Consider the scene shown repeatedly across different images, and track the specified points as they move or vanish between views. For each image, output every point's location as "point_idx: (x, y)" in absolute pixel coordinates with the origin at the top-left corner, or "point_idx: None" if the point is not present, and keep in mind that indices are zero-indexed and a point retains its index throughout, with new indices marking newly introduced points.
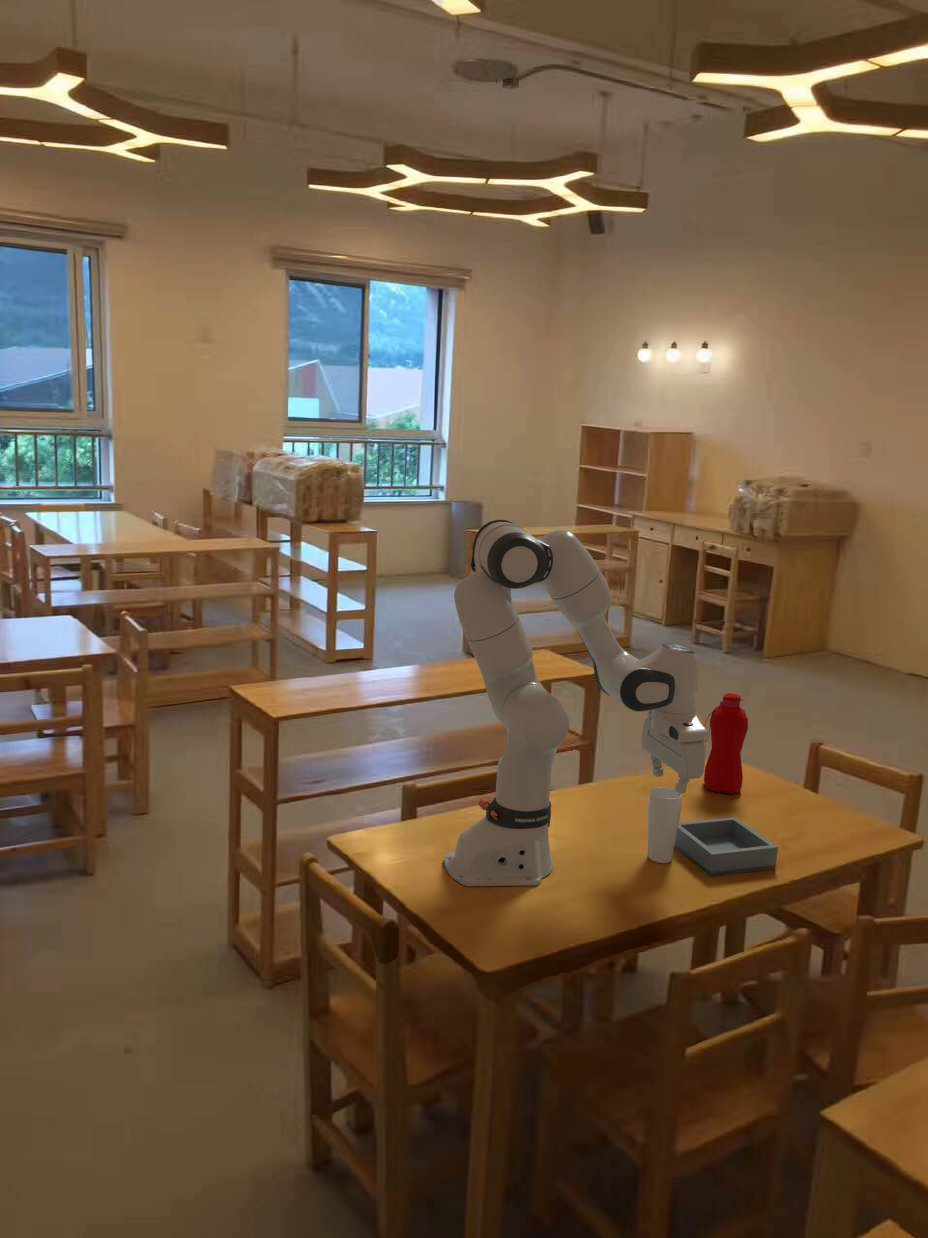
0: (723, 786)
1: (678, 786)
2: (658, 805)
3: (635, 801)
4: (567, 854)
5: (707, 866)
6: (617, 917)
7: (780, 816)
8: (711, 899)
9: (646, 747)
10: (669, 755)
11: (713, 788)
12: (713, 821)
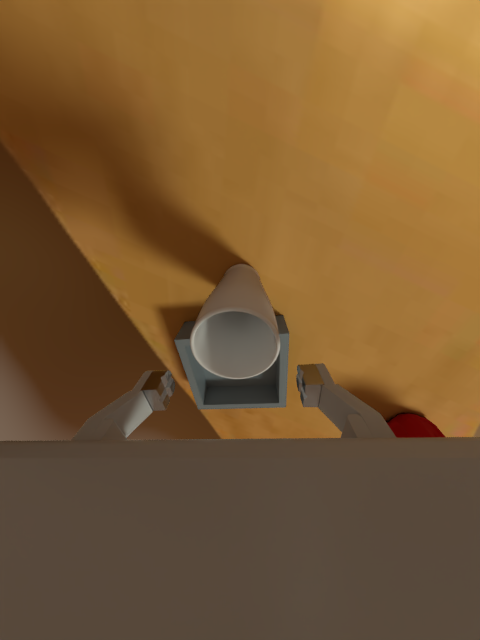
0: (394, 428)
1: (135, 386)
2: (206, 306)
3: (438, 327)
4: (294, 73)
5: (188, 327)
6: (9, 94)
7: (314, 434)
8: (123, 298)
9: (462, 469)
10: (107, 544)
11: (400, 418)
12: (280, 383)
